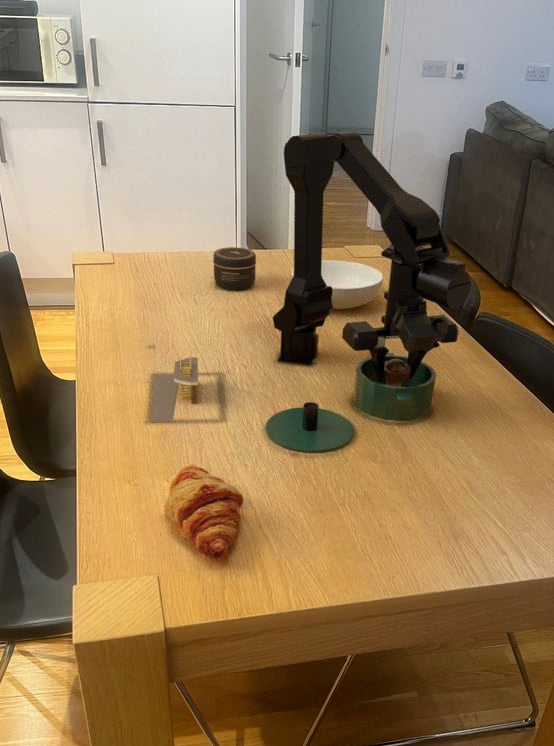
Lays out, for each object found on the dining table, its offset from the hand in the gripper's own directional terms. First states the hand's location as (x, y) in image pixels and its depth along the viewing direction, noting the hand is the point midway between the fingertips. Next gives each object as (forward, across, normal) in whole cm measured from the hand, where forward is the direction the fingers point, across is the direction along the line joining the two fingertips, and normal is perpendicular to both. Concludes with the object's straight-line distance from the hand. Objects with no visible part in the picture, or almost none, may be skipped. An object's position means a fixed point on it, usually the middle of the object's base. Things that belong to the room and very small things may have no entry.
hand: (394, 379), depth 130 cm
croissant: (+5, -39, -25) cm, 47 cm away
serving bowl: (+5, +8, +50) cm, 51 cm away
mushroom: (+1, 0, 0) cm, 1 cm away
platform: (+5, -34, +11) cm, 36 cm away
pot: (+5, 0, 0) cm, 5 cm away
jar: (+5, -11, +66) cm, 68 cm away
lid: (+4, -17, -6) cm, 19 cm away
